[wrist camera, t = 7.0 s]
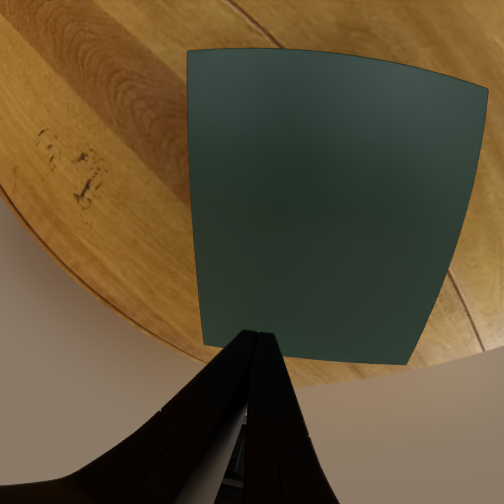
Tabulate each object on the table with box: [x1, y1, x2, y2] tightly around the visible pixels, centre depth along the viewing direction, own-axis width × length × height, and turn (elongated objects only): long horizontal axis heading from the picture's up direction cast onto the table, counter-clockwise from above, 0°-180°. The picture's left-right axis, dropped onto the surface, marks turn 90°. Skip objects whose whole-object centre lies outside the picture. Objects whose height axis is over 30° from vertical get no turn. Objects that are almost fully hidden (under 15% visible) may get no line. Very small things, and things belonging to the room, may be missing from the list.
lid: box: [187, 48, 488, 365], centre depth 12 cm, size 13×11×1 cm
